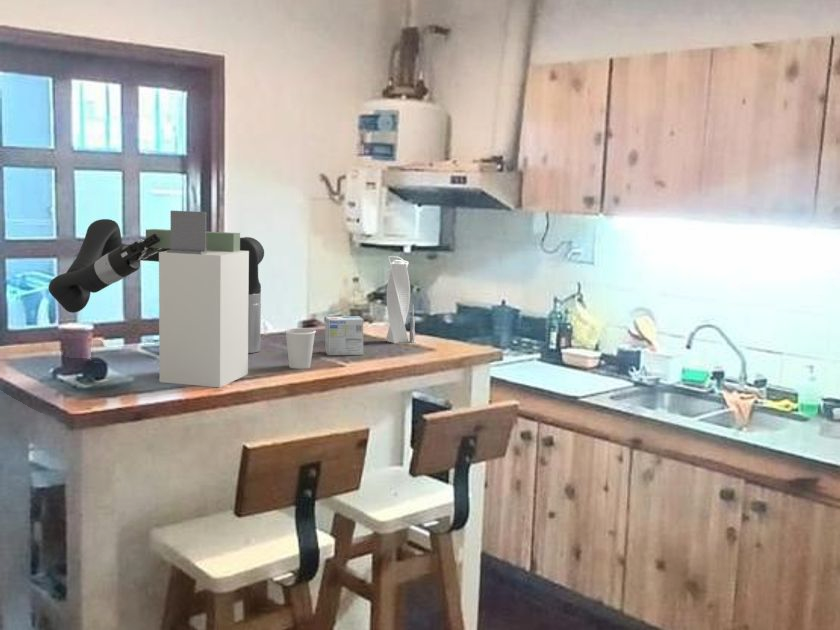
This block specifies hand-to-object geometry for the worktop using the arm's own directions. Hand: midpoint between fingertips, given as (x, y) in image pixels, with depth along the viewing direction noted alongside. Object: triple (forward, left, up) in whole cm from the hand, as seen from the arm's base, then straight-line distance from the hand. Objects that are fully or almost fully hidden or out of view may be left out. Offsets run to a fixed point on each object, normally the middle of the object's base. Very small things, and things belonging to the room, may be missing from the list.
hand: (166, 236), depth 243 cm
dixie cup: (-17, +30, -35) cm, 50 cm away
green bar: (0, +7, -3) cm, 8 cm away
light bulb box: (-41, +35, -35) cm, 65 cm away
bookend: (+12, +12, -3) cm, 17 cm away
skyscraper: (-67, +45, -35) cm, 89 cm away
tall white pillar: (+6, +13, -35) cm, 38 cm away
